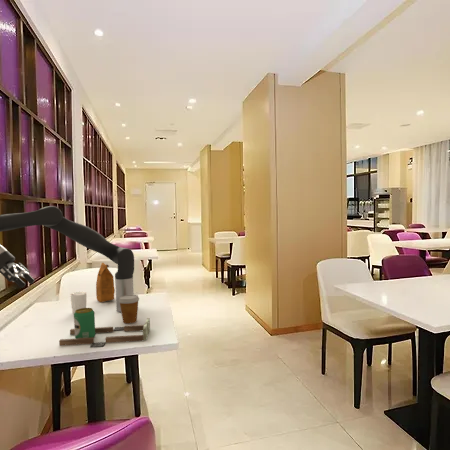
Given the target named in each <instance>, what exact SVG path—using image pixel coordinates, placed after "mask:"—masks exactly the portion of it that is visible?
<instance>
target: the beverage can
mask: <svg viewBox="0 0 450 450" xmlns="http://www.w3.org/2000/svg"><path fill="white" fill-rule="evenodd" d="M95 322H96V321H95V311H94V308H92V307H86V308H81V309H78V310H76V311H75V313H74V314H73V324H74V329H75V334H74V339H75V338H92V337H94V338H95V336H96V333H95V328H96V323H95Z"/></svg>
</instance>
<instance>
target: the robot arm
mask: <svg viewBox="0 0 450 450" xmlns="http://www.w3.org/2000/svg"><path fill="white" fill-rule="evenodd" d="M34 226H43V227H47V228H49V229H52V230H54V231H56V232H58V233H60V234H63V235H64V236H65V237H67V238H69V239H70V240H72V241H74V242H75V243H78V244H79V245H81V246H82V247H85V248H87V249H89V250H91V251H93V252H96V253H98V254H100V255H102V256H104V257H106V258H107V259H109V260H110V261H111V262H113V263H114V264H116V265H117V271H116V272H115V274H114V279H115V281H114V287H115V299H116V300H115V309H116V312H118V313H121V307H120V303H119V298H120V297H121V296H124V295H135V294H134V273H135V254H134V252H133V250H131V249H130V248H127V247H122V246H118V245H116V244H114V243H112V242H110V241H109V240H107V239H106V238H105V237H104V236H103V235H102V234H100V232H97V231H96V230H94V228H93V229H92V228H91V227H89V226H87V225H85V224H81V223H79V222H75V221H72V220H70V219H68V218H67V217H65V216H64V215H63V212H62V211H61V209H60V208H59V207H57V206H55V205H49V206H44V207H41V208H39V209H37V210H33V211H25V212H17V213H6V214H0V233H1V232H7V231H13V230H16V229H21V228H27V227H34ZM15 261H16V257H15V256H14V255H13V254H12V253H10V251H8V250H7V248H6V247H4V246H3V245H1V244H0V274H1V275H2V276H3V277H4V278H5V279H6V280H7V281H8V282H9V283H10V282H12V283H15V284H16V285H17V286H18V287H19V288H20V289H22V288H24V287H25V286H26V284H27V283H26V282H28V284H30V285H32V284H33V283H35V282H36V279H34V278H33V277H32V276H31V275H30V272H31V271H30V270H29V269H27V267H25V265H23V264H22V263H21V262H18V263H15ZM20 277H21V278H23V279H25V280H26V282H25V281H23V279H21V278H20Z"/></svg>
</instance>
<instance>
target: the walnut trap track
mask: <svg viewBox="0 0 450 450" xmlns="http://www.w3.org/2000/svg"><path fill="white" fill-rule="evenodd" d="M140 330H143V331H142V334H131V335H127V334H126V335H115V336H114V335H113V336H106V337H105V339H104V340H105V341H99V342H96V341H95V336H94V337H92V338H75V337H74V338H61V339H60V340H59V341H58V342H59V346H75V345H77V346H78V345H90V346H89V348H103V347H104V346H105V344H108V343H109V344H110V343H127V342H126V341H129V342H140V341H142V340H147V339H146V338H148V336H149V332H150V330H151V320H150V317H147V318H146V320H145V322H144V324H138V325H136V324H135V325H124V326H116V327H114V326H98V327H95V334H105V333H106V334H107V333H113V332H120V331H125V332H140ZM69 334H70V335H75V328H71V329H70V330H69ZM147 335H148V336H147ZM142 342H143V341H142Z"/></svg>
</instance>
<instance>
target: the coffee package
mask: <svg viewBox="0 0 450 450" xmlns="http://www.w3.org/2000/svg"><path fill="white" fill-rule="evenodd" d="M109 267H110V265H109V264H105V263H104V262H101V264H100V266H99V270H98V272H97V276H96V282H95V291H96V292H95V295H96V300H97V302H98V301H99V303H105V302H108V301H109V302H110V301H113V300H115V294H116V288H115V281H114V279H115V278H114V275H113V274H112V272H111V270H109Z"/></svg>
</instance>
